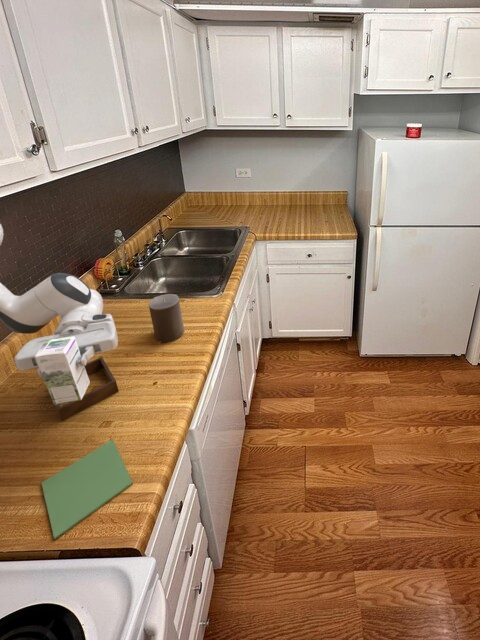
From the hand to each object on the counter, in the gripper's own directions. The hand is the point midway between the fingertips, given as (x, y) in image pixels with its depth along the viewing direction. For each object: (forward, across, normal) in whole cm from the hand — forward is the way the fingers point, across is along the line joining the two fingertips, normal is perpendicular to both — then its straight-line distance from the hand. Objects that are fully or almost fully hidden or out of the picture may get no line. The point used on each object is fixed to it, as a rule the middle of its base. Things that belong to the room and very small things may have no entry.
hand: (62, 368), depth 74 cm
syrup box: (-1, 0, +9) cm, 9 cm away
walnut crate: (-16, -3, +22) cm, 27 cm away
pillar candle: (-34, +20, +22) cm, 45 cm away
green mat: (+13, +3, +22) cm, 26 cm away
